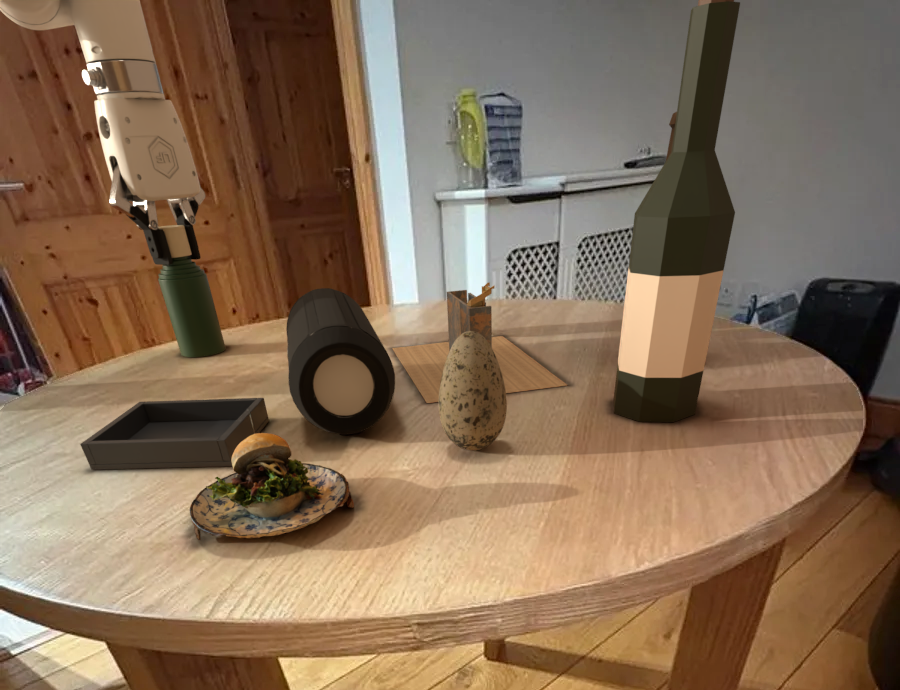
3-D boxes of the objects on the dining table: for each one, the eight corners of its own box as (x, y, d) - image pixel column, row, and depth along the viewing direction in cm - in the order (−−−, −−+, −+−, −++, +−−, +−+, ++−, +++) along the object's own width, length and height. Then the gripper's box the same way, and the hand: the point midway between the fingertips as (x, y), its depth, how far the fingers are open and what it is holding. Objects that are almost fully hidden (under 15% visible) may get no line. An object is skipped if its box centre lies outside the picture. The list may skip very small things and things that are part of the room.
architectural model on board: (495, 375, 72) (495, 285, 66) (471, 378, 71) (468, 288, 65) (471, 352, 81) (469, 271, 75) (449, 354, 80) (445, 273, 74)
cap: (162, 259, 79) (153, 229, 77) (158, 256, 81) (149, 227, 79) (194, 255, 80) (186, 226, 78) (189, 253, 83) (181, 224, 81)
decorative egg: (519, 450, 53) (522, 331, 47) (464, 467, 51) (459, 344, 45) (482, 430, 58) (480, 319, 52) (429, 446, 55) (420, 331, 49)
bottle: (173, 358, 86) (134, 234, 77) (191, 346, 91) (156, 229, 82) (216, 356, 85) (182, 231, 76) (231, 345, 91) (201, 226, 81)
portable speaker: (295, 375, 76) (278, 288, 70) (372, 366, 77) (361, 280, 71) (301, 450, 56) (277, 337, 50) (404, 437, 57) (393, 325, 51)
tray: (91, 469, 55) (79, 444, 53) (147, 424, 64) (139, 401, 62) (232, 466, 54) (224, 439, 52) (269, 421, 63) (263, 397, 61)
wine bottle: (682, 428, 56) (770, -32, 38) (597, 415, 59) (640, -9, 41) (705, 401, 61) (792, -12, 43) (626, 390, 65) (675, 7, 47)
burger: (171, 560, 41) (131, 458, 37) (222, 484, 51) (195, 396, 46) (342, 552, 41) (323, 449, 36) (362, 477, 50) (349, 388, 46)
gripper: (81, 78, 63) (143, 272, 74) (205, 85, 74) (242, 253, 85) (41, 85, 66) (106, 270, 77) (166, 91, 77) (207, 252, 88)
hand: (177, 260), depth 81 cm, fingers closed on cap, 4 cm apart
